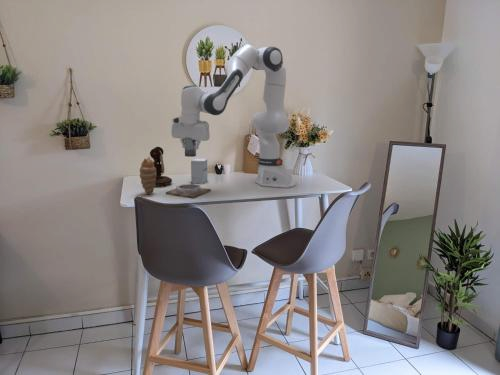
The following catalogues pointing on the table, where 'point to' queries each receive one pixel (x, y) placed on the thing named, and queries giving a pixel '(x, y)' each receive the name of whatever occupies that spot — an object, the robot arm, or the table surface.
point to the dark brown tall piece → (159, 166)
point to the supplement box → (199, 171)
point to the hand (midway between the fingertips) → (190, 148)
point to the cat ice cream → (148, 175)
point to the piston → (190, 147)
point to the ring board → (203, 190)
